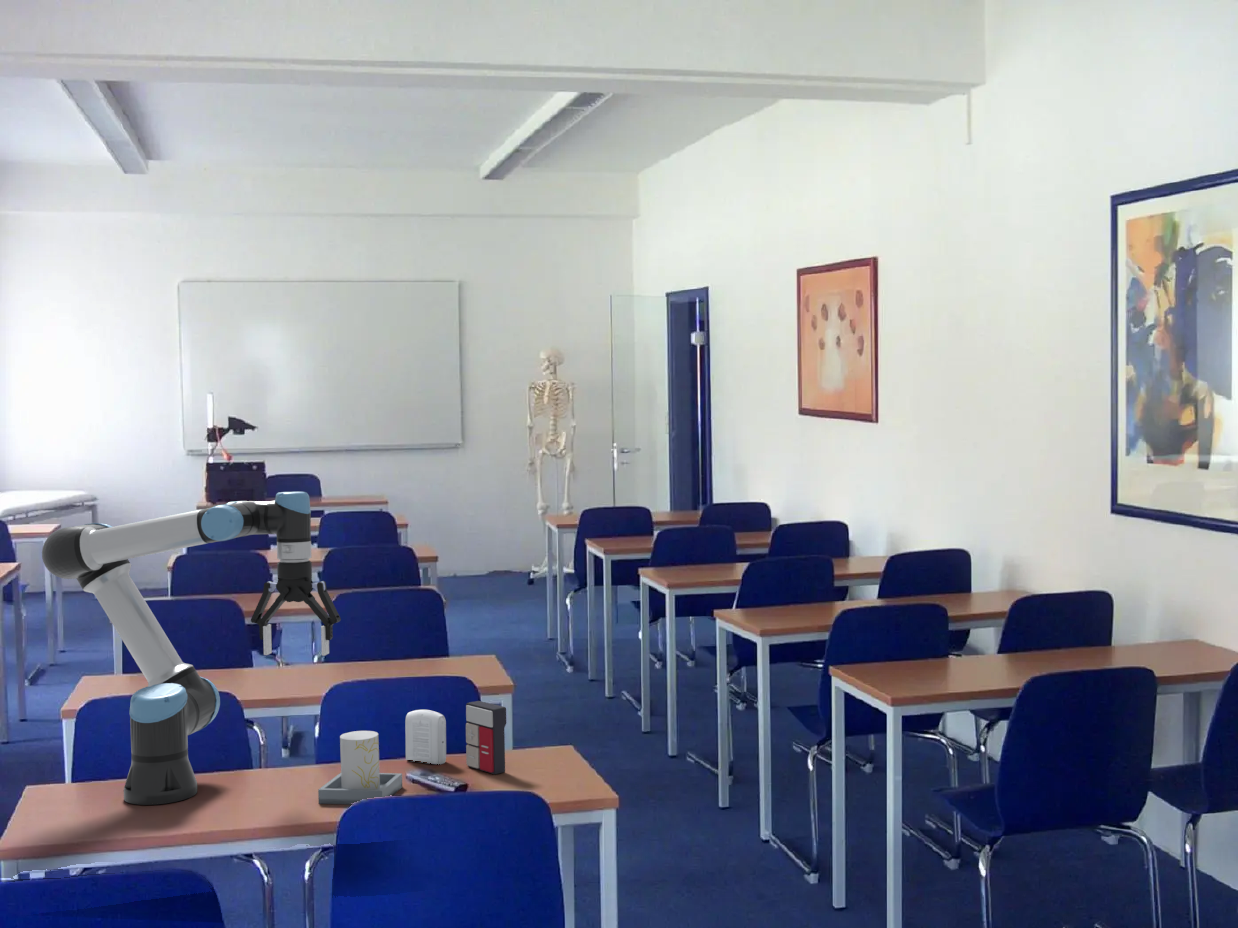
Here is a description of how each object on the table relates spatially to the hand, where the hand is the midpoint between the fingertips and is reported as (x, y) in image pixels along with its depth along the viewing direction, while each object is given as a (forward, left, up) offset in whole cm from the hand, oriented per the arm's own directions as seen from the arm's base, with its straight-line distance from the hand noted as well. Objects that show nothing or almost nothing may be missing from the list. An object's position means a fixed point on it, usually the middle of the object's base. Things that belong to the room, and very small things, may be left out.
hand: (296, 654), depth 293 cm
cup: (+18, -10, -28) cm, 35 cm away
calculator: (+40, +13, -29) cm, 51 cm away
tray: (+18, -10, -29) cm, 35 cm away
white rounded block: (+24, +19, -29) cm, 42 cm away
